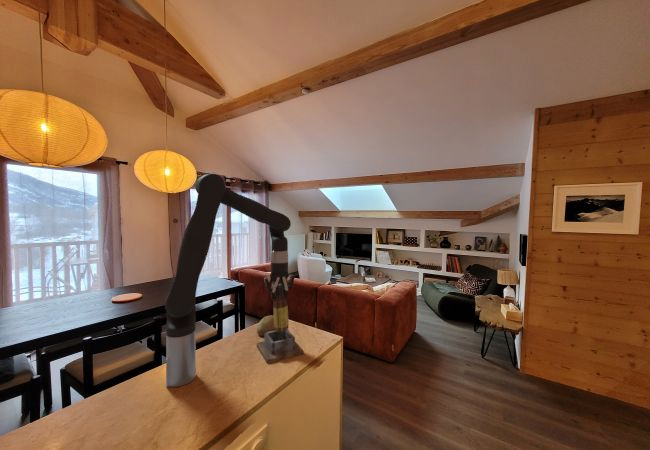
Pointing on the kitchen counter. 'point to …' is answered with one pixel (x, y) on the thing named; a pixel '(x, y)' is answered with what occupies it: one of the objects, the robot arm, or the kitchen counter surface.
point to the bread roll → (266, 325)
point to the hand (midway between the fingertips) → (279, 299)
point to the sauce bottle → (280, 309)
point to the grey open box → (278, 346)
